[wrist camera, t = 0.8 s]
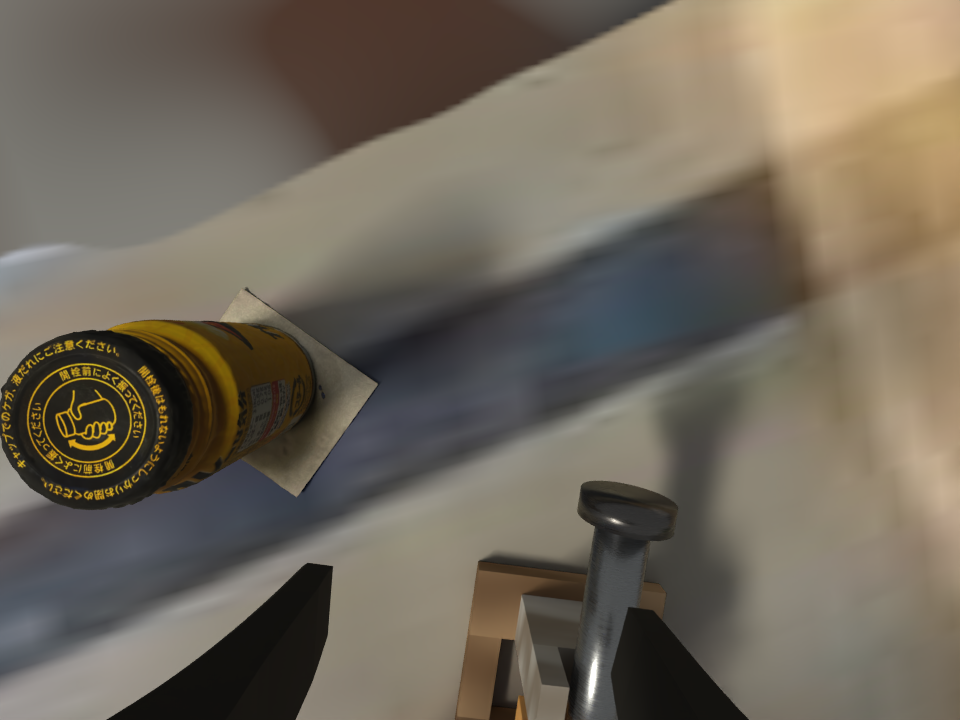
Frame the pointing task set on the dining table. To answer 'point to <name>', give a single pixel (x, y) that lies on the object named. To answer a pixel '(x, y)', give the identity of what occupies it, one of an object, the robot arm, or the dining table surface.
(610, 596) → the shaft
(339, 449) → the dining table surface
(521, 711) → the block
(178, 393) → the condiment
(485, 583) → the bearing stand
